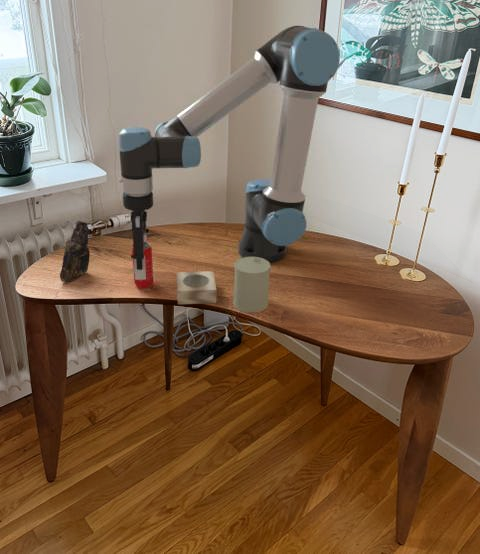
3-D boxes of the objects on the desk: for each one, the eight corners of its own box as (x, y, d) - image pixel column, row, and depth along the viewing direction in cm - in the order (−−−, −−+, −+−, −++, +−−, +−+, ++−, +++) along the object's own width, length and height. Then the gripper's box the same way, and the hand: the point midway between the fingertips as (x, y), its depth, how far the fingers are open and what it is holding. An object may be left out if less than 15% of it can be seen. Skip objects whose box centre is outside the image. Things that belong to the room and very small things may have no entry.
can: (272, 298, 139) (275, 258, 133) (262, 316, 132) (264, 274, 126) (240, 291, 142) (241, 252, 136) (228, 308, 134) (229, 267, 128)
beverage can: (149, 290, 141) (147, 250, 135) (131, 288, 142) (128, 248, 136) (156, 281, 145) (154, 242, 140) (138, 279, 146) (135, 240, 140)
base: (213, 283, 145) (213, 271, 143) (216, 302, 136) (216, 289, 134) (177, 285, 144) (176, 272, 142) (177, 304, 135) (177, 291, 133)
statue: (54, 281, 144) (46, 231, 136) (83, 264, 153) (77, 216, 146) (70, 286, 142) (62, 236, 134) (98, 268, 151) (93, 220, 144)
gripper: (125, 176, 141) (130, 246, 151) (118, 210, 119) (124, 290, 130) (153, 176, 142) (156, 246, 152) (151, 210, 120) (154, 289, 130)
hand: (141, 266), depth 141 cm, fingers open, 13 cm apart
